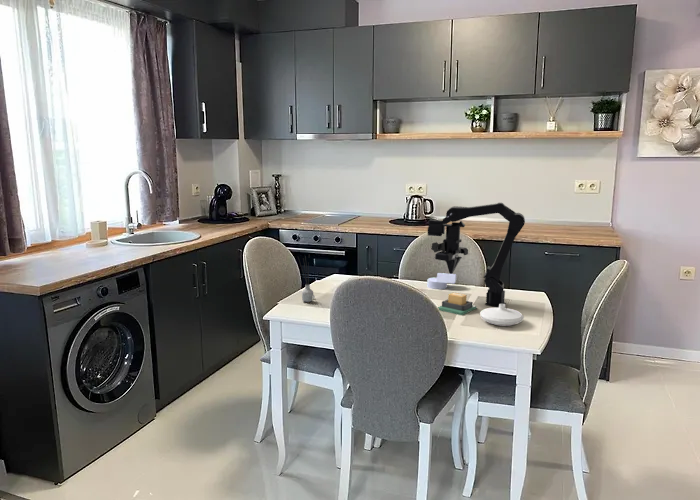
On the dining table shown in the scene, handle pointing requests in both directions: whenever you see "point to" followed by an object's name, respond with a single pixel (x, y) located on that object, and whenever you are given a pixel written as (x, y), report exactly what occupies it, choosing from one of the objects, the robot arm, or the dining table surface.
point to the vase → (501, 316)
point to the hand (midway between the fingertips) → (451, 273)
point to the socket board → (457, 307)
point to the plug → (457, 298)
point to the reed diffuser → (307, 287)
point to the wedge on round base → (441, 281)
